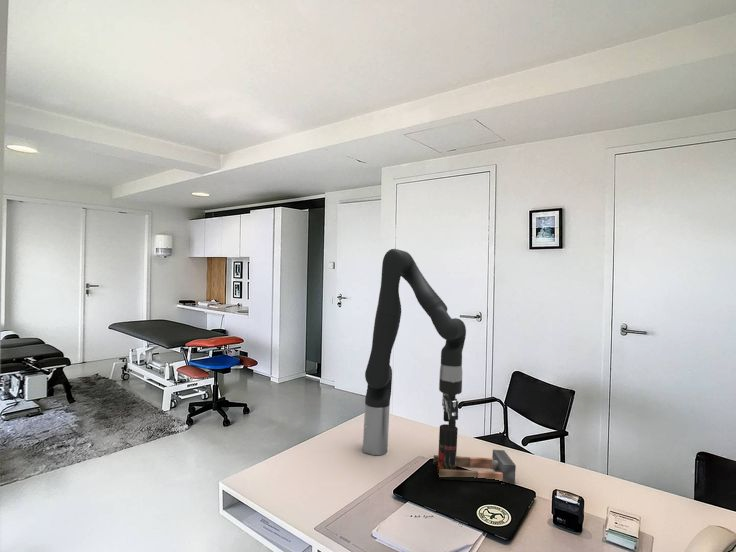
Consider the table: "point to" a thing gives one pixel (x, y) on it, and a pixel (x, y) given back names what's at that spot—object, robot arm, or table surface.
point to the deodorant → (447, 448)
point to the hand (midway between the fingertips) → (449, 425)
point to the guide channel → (498, 462)
